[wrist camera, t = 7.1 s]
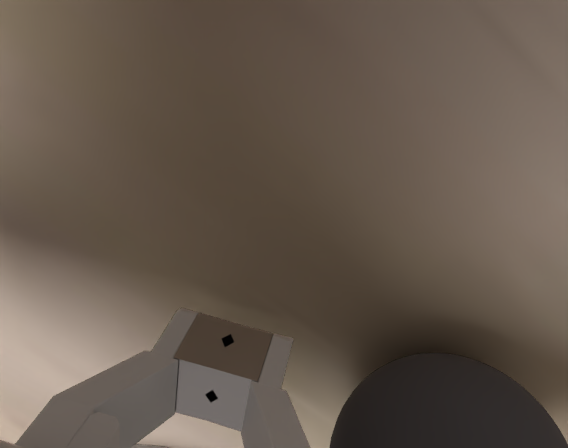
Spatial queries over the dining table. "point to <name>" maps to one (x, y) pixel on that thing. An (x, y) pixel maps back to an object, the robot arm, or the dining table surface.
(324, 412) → the dining table surface
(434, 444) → the black cue ball
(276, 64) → the dining table surface
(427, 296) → the dining table surface
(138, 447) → the dish
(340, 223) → the dining table surface
